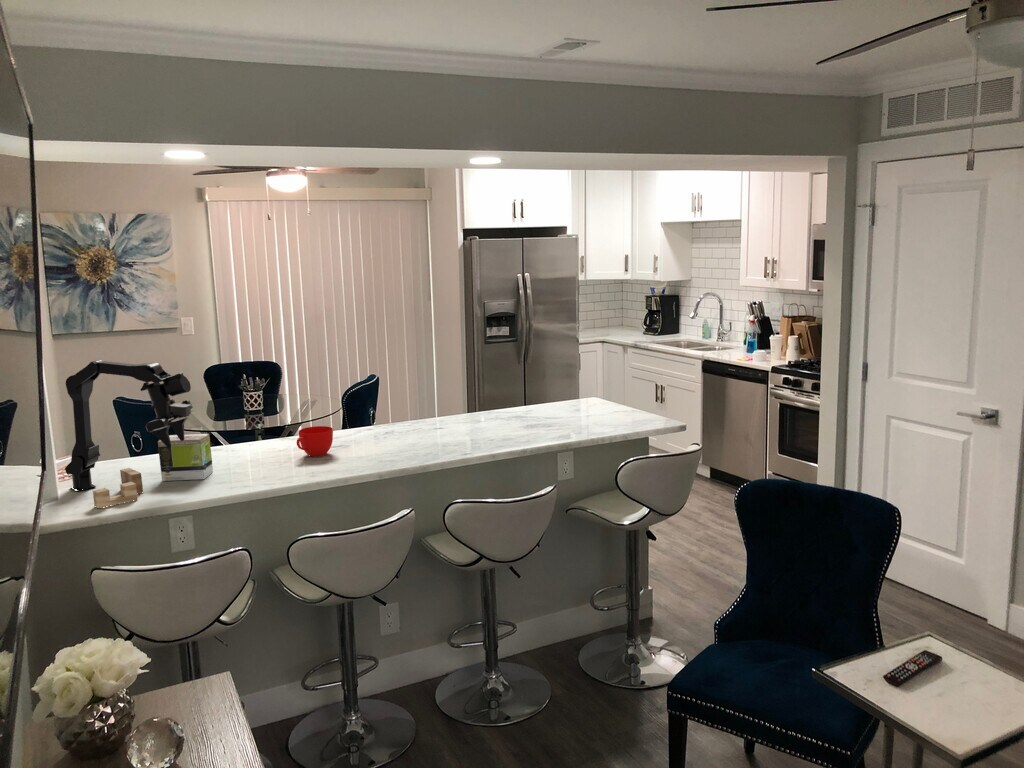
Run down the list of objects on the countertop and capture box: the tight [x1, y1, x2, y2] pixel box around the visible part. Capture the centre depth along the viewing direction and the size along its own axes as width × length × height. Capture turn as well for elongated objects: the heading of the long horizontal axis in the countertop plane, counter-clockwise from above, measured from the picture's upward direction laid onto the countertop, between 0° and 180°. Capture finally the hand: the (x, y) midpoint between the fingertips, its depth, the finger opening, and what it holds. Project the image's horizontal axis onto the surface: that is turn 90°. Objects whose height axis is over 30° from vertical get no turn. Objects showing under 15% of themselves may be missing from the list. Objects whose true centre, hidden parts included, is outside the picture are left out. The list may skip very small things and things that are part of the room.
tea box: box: [157, 433, 214, 482], centre depth 286 cm, size 15×10×15 cm
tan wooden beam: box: [119, 467, 144, 494], centre depth 271 cm, size 10×3×7 cm, turn 46°
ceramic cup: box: [296, 425, 334, 457], centre depth 311 cm, size 13×17×10 cm
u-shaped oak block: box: [92, 482, 139, 509], centre depth 258 cm, size 4×12×6 cm, turn 136°
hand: (176, 443), depth 271 cm, fingers open, 9 cm apart
